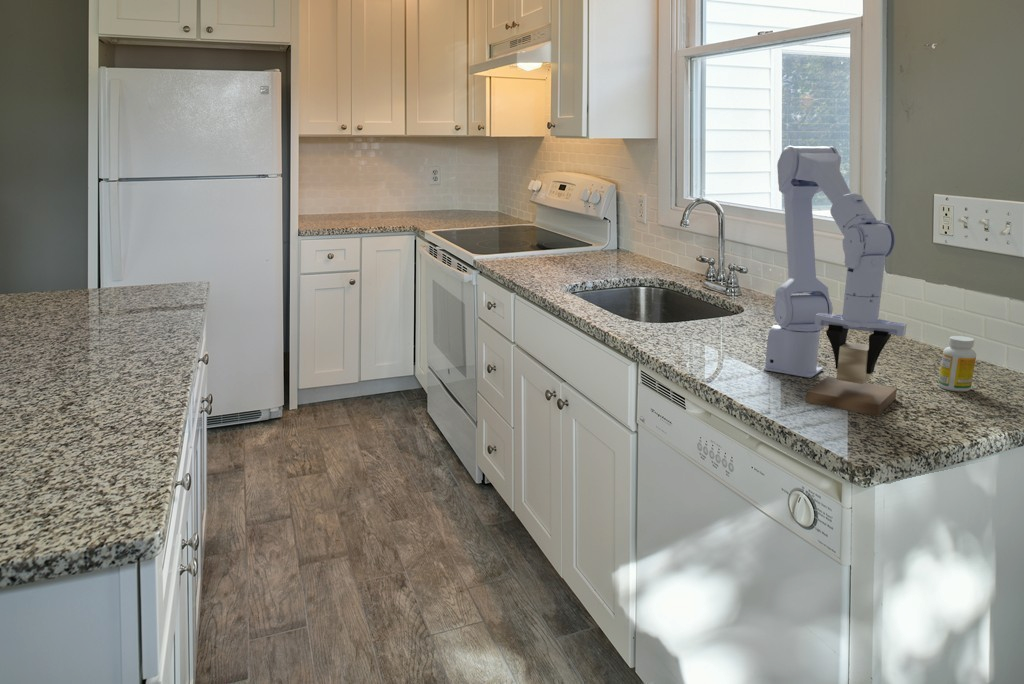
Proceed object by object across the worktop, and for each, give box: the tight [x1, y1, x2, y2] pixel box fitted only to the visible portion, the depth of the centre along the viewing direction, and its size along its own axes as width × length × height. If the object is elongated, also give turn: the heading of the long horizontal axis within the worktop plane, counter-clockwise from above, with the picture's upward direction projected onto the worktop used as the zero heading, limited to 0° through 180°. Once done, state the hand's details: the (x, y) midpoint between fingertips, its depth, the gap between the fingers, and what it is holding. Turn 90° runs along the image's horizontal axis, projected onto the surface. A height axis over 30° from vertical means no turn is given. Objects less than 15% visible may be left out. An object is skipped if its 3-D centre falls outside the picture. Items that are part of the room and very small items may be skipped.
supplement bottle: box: [938, 335, 977, 393], centre depth 145 cm, size 5×5×10 cm
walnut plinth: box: [805, 376, 898, 417], centre depth 138 cm, size 12×12×2 cm
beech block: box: [835, 341, 872, 384], centre depth 137 cm, size 4×4×6 cm
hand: (854, 370), depth 137 cm, fingers closed on beech block, 4 cm apart
